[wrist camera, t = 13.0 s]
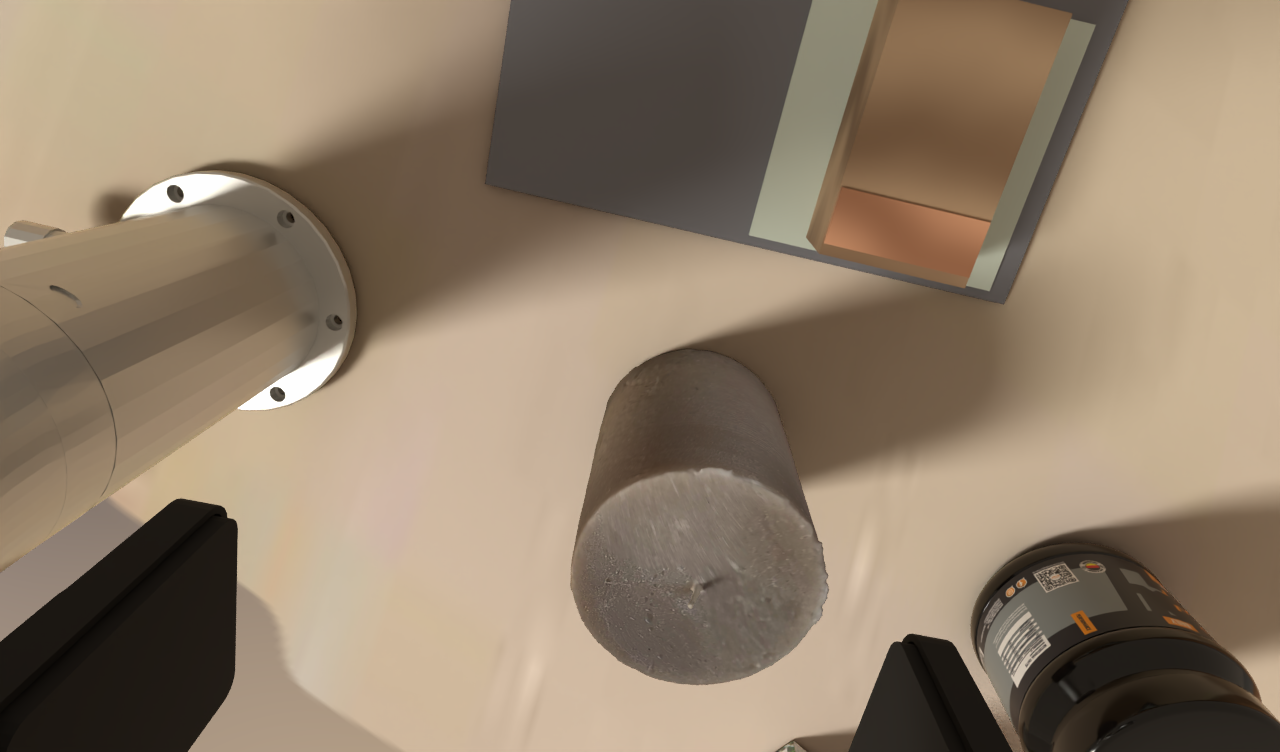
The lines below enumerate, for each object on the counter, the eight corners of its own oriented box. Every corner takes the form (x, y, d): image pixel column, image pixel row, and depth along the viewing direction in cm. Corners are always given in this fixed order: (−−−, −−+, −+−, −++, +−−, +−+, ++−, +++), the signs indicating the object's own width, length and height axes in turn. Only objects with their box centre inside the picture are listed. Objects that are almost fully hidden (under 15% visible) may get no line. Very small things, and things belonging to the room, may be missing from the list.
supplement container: (1157, 669, 44) (1316, 865, 33) (972, 696, 46) (1064, 891, 34) (1153, 517, 41) (1329, 677, 29) (953, 550, 42) (1048, 715, 31)
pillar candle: (604, 506, 43) (567, 709, 29) (601, 343, 39) (557, 483, 25) (776, 511, 42) (824, 719, 28) (789, 346, 39) (850, 490, 25)
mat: (487, 183, 37) (484, 184, 36) (559, -325, 30) (556, -333, 29) (1000, 302, 37) (1005, 305, 36) (1192, -170, 30) (1202, -175, 29)
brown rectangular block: (882, -13, 32) (908, -28, 28) (1028, 23, 32) (1074, 13, 28) (805, 237, 36) (819, 254, 32) (936, 268, 36) (965, 289, 32)
